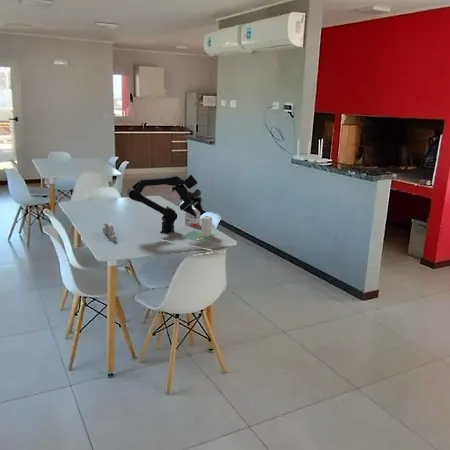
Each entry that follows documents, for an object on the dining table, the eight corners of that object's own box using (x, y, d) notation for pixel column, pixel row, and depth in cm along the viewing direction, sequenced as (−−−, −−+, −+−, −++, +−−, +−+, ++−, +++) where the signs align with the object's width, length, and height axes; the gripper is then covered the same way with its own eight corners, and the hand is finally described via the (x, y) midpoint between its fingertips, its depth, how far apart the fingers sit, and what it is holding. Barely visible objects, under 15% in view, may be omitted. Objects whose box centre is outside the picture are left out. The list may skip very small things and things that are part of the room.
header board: (179, 238, 265) (179, 233, 264) (193, 232, 280) (193, 227, 279) (203, 243, 259) (203, 238, 258) (215, 236, 274) (216, 231, 273)
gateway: (102, 232, 269) (102, 219, 267) (106, 232, 270) (106, 219, 268) (112, 242, 252) (112, 228, 250) (116, 242, 253) (116, 228, 251)
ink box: (199, 226, 293) (200, 208, 290) (194, 228, 289) (195, 209, 286) (189, 223, 297) (190, 206, 294) (184, 225, 294) (185, 207, 290)
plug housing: (201, 236, 269) (201, 217, 266) (205, 233, 274) (206, 215, 271) (206, 237, 268) (207, 218, 265) (211, 235, 273) (212, 216, 270)
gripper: (185, 187, 259) (202, 209, 258) (200, 183, 276) (215, 203, 275) (172, 199, 264) (188, 221, 263) (187, 194, 281) (203, 214, 280)
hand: (199, 214), depth 270 cm, fingers open, 9 cm apart
